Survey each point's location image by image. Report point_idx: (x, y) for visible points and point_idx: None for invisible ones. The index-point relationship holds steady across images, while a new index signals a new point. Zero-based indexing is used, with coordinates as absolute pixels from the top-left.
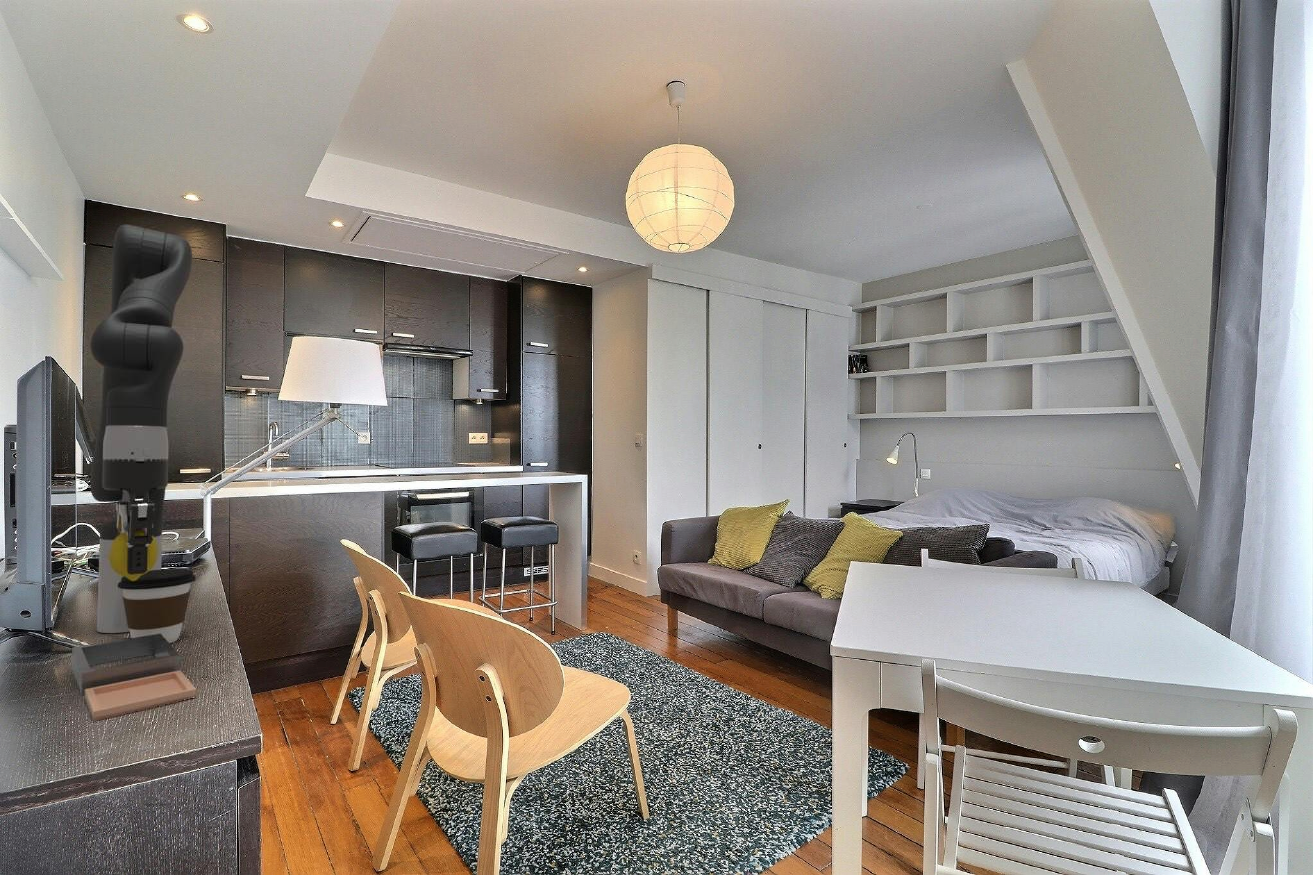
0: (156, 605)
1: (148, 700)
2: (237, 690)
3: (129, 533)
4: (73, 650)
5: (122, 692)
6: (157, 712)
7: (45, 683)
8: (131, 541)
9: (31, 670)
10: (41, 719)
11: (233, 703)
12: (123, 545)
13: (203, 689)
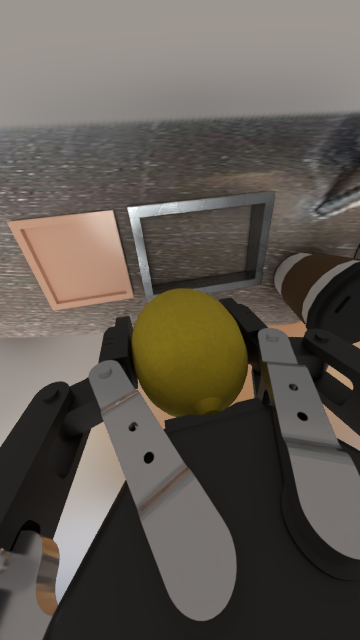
0: (298, 293)
1: (34, 272)
2: (64, 334)
3: (45, 422)
4: (259, 193)
5: (102, 247)
6: (22, 277)
7: (209, 162)
8: (33, 401)
9: (286, 142)
10: (47, 163)
11: (24, 331)
12: (142, 353)
13: (83, 311)
